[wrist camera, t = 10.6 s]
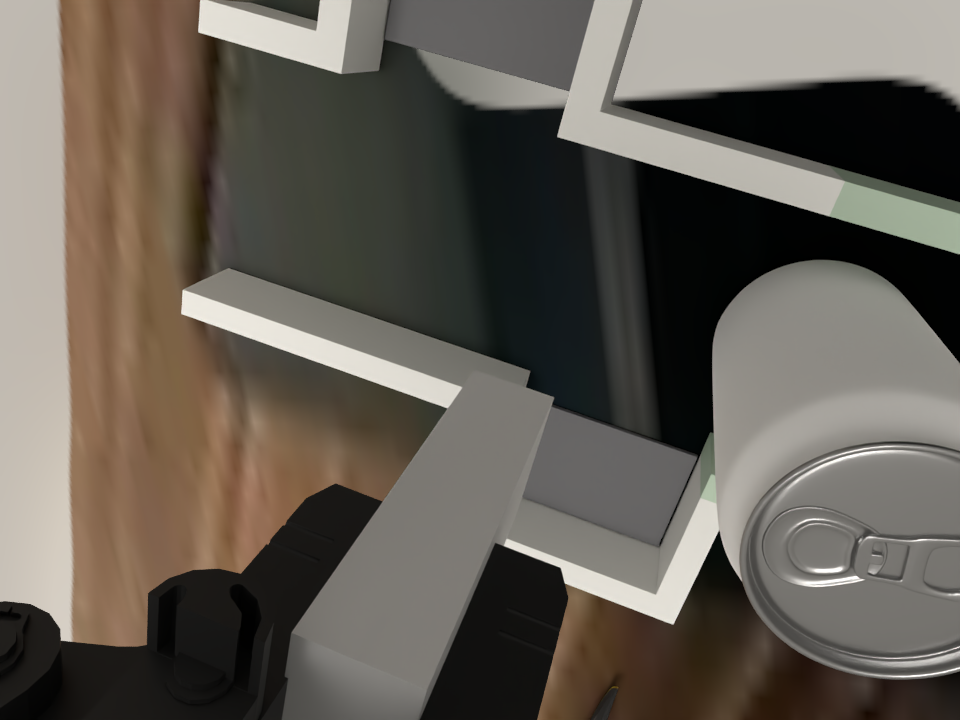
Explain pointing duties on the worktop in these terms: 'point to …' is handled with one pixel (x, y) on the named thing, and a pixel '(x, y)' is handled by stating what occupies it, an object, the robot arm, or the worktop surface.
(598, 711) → the knife
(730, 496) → the can
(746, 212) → the worktop surface
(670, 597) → the trap tray
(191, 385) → the worktop surface
